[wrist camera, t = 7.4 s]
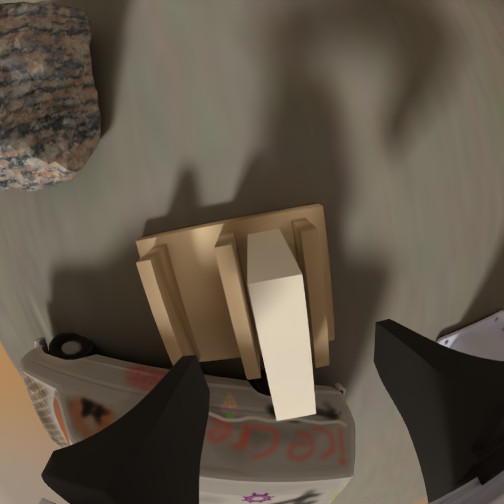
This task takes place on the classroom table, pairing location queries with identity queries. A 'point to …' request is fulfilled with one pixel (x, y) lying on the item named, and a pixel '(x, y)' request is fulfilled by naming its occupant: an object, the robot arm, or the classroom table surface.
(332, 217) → the classroom table surface
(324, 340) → the rack
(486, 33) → the classroom table surface
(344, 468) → the toy car
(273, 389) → the tall cream block
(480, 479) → the robot arm
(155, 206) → the classroom table surface
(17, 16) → the stone
